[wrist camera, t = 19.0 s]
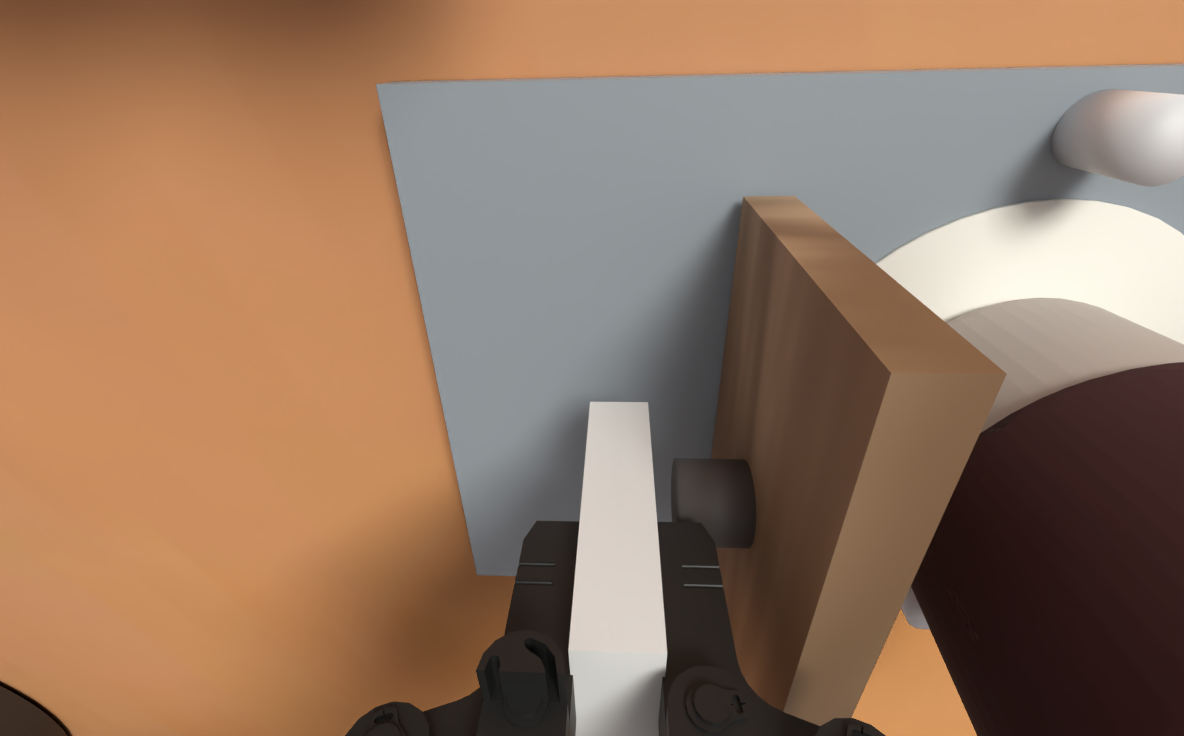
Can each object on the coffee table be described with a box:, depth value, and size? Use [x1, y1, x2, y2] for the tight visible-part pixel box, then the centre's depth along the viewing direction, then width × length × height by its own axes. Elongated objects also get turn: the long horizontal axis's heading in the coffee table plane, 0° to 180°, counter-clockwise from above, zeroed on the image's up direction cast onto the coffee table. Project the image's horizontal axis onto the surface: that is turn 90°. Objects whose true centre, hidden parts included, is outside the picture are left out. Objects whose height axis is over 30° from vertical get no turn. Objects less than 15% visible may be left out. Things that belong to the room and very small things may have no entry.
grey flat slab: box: [376, 63, 1184, 629], centre depth 15 cm, size 24×17×3 cm
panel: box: [671, 196, 1007, 726], centre depth 12 cm, size 3×12×8 cm, turn 2°
